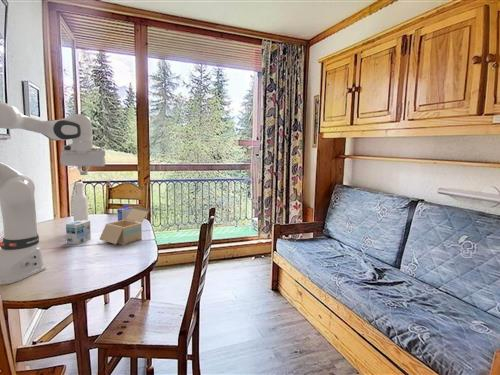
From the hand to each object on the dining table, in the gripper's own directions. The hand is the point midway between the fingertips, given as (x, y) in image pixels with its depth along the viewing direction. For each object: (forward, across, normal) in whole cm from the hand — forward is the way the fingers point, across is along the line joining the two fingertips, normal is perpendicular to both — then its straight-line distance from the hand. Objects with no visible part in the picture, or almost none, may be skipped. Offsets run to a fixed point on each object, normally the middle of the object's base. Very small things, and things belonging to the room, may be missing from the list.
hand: (83, 174), depth 156 cm
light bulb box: (+37, +6, -8) cm, 39 cm away
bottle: (+37, +12, -28) cm, 48 cm away
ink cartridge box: (+37, -12, -37) cm, 54 cm away
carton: (+37, -15, -8) cm, 41 cm away
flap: (+24, -23, -16) cm, 37 cm away
